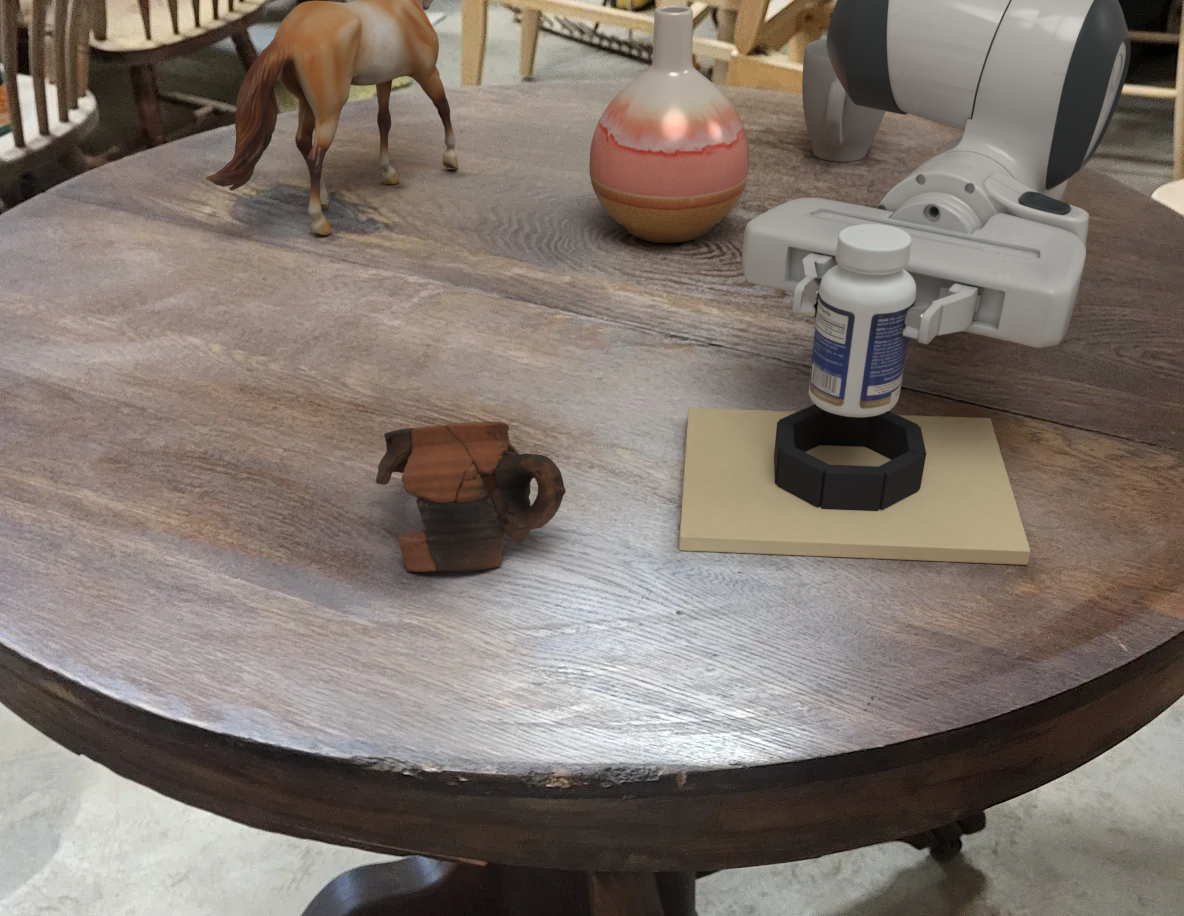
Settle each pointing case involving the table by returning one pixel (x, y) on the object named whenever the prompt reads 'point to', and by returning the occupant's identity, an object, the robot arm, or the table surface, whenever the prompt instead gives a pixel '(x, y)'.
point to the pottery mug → (468, 493)
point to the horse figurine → (335, 83)
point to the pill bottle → (862, 323)
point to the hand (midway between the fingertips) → (859, 316)
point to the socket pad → (848, 487)
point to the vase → (669, 144)
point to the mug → (834, 111)
